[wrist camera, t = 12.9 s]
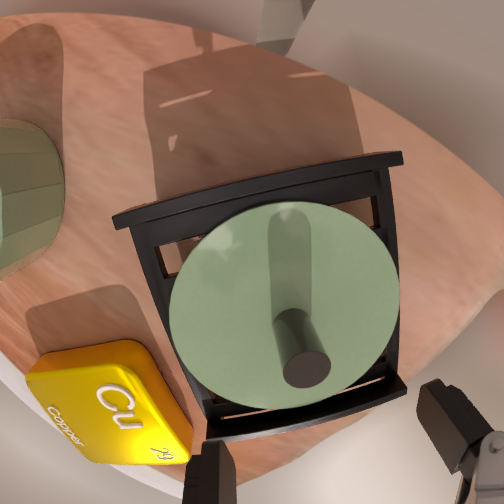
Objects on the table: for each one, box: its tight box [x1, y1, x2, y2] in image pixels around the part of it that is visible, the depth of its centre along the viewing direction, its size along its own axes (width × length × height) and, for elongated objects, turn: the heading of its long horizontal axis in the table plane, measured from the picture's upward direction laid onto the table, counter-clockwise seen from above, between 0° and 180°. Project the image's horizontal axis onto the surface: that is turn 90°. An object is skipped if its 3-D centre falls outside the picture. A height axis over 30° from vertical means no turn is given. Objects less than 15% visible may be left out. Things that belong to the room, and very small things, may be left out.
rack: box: [112, 151, 407, 443], centre depth 21 cm, size 18×16×8 cm
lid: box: [169, 201, 400, 409], centre depth 16 cm, size 15×15×6 cm
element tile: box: [25, 340, 193, 465], centre depth 25 cm, size 15×15×5 cm
